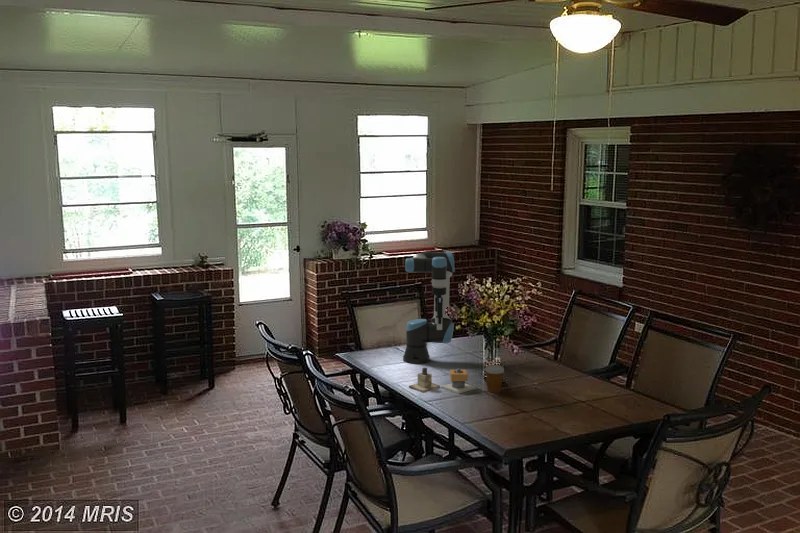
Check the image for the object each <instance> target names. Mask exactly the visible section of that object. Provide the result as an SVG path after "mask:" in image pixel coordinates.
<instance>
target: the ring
mask: <svg viewBox="0 0 800 533" xmlns="http://www.w3.org/2000/svg"><path fill="white" fill-rule="evenodd" d="M456 370H457V369H450V370H449V378H450V381H451V382H452V381H465V382H468V380H469V379H468V375H469V374H468V371H467V369H461V373H456Z"/></svg>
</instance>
